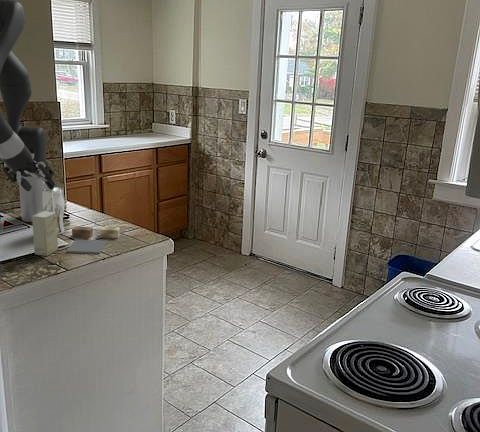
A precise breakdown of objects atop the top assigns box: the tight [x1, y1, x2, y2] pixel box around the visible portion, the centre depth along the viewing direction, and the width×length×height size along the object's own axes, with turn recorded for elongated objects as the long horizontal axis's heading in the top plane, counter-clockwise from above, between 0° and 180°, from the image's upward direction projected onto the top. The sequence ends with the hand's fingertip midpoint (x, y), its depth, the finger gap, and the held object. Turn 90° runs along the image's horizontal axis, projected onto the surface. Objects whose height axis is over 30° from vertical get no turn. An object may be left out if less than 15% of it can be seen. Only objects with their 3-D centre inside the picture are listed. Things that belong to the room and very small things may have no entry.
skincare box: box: [31, 211, 59, 257], centre depth 146 cm, size 6×4×12 cm
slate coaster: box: [66, 238, 107, 255], centre depth 153 cm, size 10×10×1 cm
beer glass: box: [42, 186, 66, 235], centre depth 162 cm, size 7×7×15 cm
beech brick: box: [99, 226, 121, 239], centre depth 163 cm, size 6×3×3 cm, turn 91°
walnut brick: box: [71, 225, 94, 239], centre depth 162 cm, size 6×3×3 cm, turn 90°
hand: (41, 188), depth 150 cm, fingers open, 8 cm apart
